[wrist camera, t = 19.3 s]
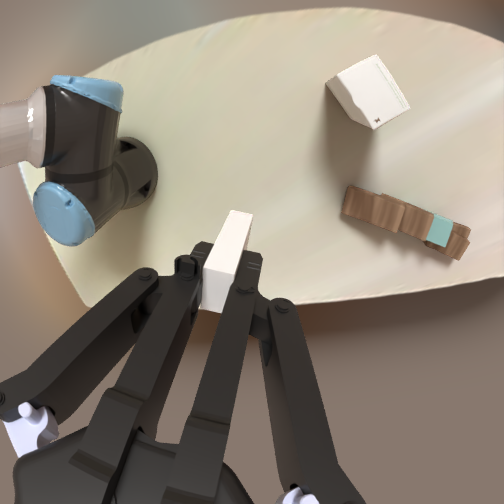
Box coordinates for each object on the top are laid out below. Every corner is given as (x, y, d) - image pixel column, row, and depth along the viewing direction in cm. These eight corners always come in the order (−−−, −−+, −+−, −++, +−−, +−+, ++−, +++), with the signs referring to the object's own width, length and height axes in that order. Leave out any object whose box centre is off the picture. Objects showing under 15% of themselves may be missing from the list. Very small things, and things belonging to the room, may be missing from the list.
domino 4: (427, 239, 49) (462, 248, 48) (436, 218, 46) (470, 229, 46) (423, 234, 51) (458, 244, 50) (431, 214, 48) (466, 225, 48)
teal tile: (396, 228, 48) (445, 247, 43) (402, 204, 46) (453, 224, 41) (397, 225, 50) (444, 243, 45) (403, 202, 47) (452, 220, 42)
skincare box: (378, 104, 39) (414, 111, 26) (349, 121, 41) (373, 134, 28) (352, 64, 36) (378, 52, 23) (321, 82, 38) (335, 75, 25)
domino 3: (426, 245, 47) (458, 260, 48) (437, 225, 45) (470, 242, 45) (422, 240, 49) (454, 255, 50) (433, 220, 47) (465, 237, 47)
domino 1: (341, 212, 49) (396, 233, 45) (347, 187, 46) (405, 208, 42) (343, 209, 50) (396, 228, 46) (349, 185, 48) (405, 204, 43)
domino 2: (373, 219, 48) (425, 241, 44) (380, 195, 46) (434, 217, 41) (375, 216, 50) (425, 237, 45) (382, 193, 47) (433, 214, 42)
